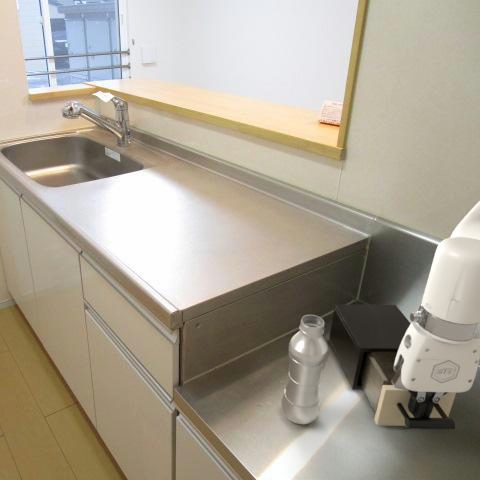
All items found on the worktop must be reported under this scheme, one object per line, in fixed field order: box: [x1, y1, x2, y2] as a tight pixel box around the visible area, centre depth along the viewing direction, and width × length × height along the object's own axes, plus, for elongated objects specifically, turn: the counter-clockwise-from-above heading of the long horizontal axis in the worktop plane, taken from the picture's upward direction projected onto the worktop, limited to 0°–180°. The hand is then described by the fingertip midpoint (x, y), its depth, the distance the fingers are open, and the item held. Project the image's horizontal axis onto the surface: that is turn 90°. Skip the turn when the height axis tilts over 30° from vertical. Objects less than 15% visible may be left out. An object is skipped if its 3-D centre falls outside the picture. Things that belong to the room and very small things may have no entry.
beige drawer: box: [358, 352, 457, 430], centre depth 79 cm, size 18×11×8 cm, turn 178°
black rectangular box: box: [328, 304, 411, 390], centre depth 90 cm, size 15×13×10 cm
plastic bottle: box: [281, 314, 330, 425], centre depth 76 cm, size 6×7×20 cm
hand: (417, 414), depth 73 cm, fingers closed
